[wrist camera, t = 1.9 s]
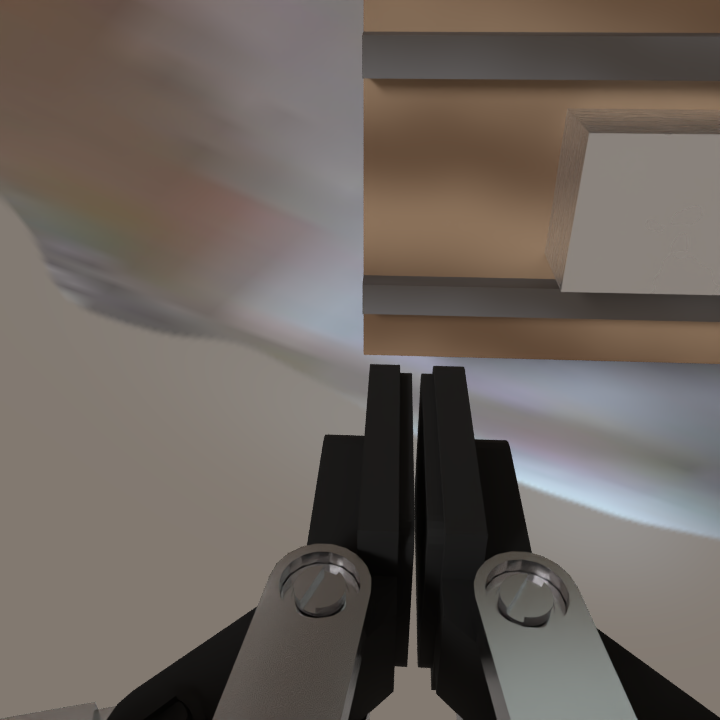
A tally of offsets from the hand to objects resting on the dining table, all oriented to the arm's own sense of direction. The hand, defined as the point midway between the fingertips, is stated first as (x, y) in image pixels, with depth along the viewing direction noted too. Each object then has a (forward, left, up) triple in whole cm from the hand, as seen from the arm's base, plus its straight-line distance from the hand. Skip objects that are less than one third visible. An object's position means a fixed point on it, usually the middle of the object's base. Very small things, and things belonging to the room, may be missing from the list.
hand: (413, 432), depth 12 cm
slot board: (0, +8, -18) cm, 20 cm away
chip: (0, +7, -13) cm, 15 cm away
